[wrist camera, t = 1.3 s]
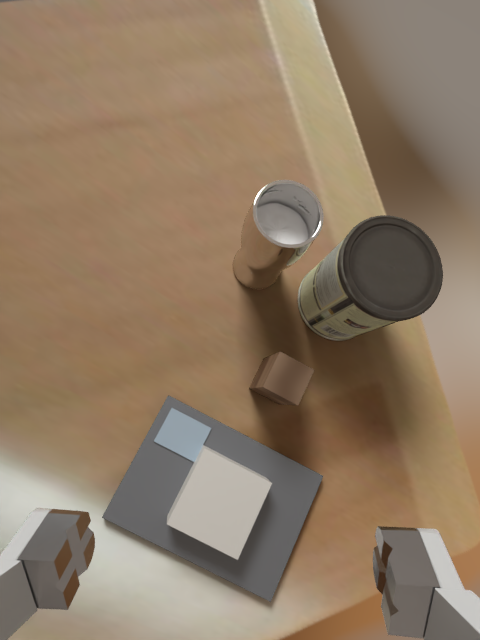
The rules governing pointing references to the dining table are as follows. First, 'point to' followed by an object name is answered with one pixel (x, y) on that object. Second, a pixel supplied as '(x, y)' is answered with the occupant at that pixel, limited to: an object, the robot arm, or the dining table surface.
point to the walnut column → (282, 379)
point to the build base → (268, 524)
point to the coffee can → (371, 279)
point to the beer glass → (276, 232)
